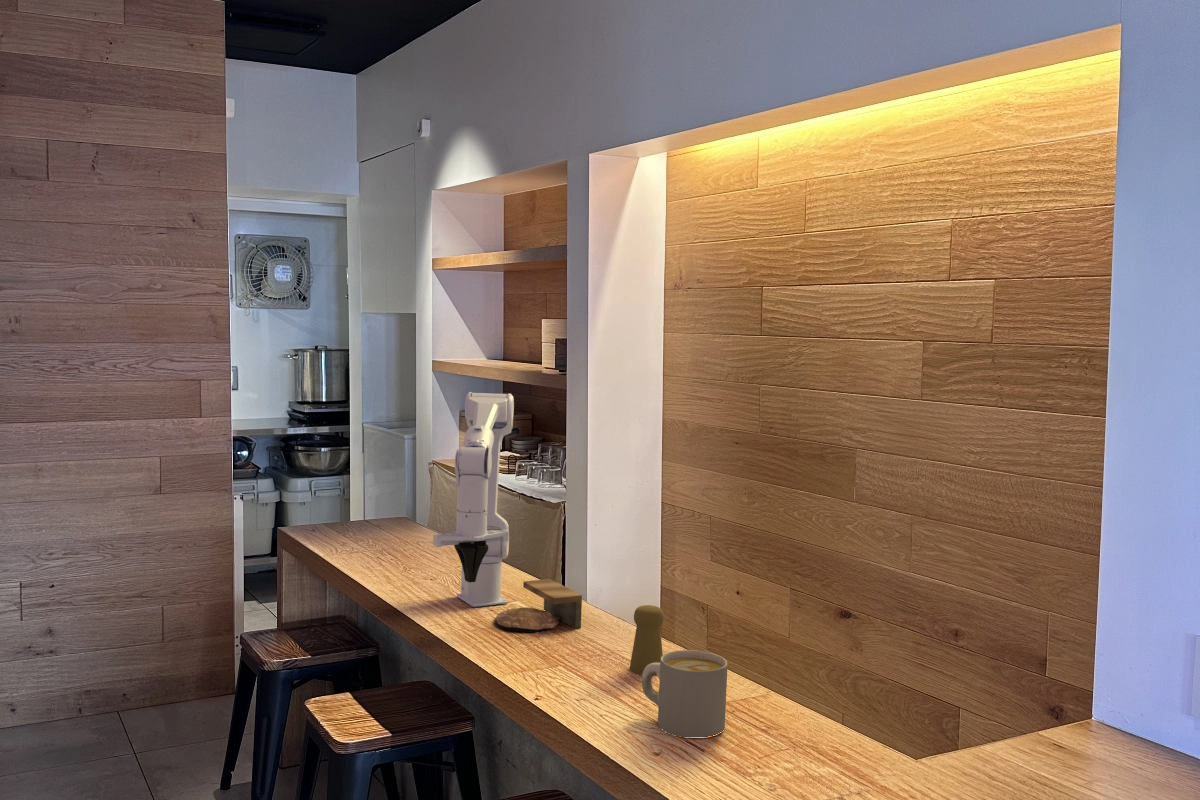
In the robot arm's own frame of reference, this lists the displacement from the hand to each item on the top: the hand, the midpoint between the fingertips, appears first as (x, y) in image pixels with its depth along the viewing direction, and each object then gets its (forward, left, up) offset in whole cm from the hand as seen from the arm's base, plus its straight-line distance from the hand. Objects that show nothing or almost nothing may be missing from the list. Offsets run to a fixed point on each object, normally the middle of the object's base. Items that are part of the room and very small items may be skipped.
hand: (470, 581), depth 198 cm
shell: (0, +12, -10) cm, 16 cm away
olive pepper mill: (+32, +20, -10) cm, 39 cm away
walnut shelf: (-1, +18, -10) cm, 21 cm away
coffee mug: (+55, +12, -10) cm, 57 cm away
